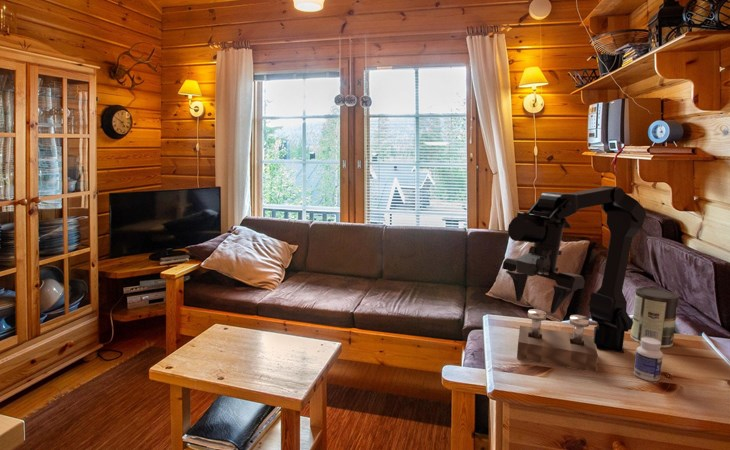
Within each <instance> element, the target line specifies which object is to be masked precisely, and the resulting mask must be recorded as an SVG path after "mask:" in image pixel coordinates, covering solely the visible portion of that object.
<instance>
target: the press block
mask: <svg viewBox="0 0 730 450" xmlns="http://www.w3.org/2000/svg"><path fill="white" fill-rule="evenodd" d="M598 356H599V354H598V349H597V348H596V344H595V343H594V340H593V336H592V335H588V334H583V339H582V343H575V342H573V332H567V331H561V330H560V331H559V330H554V329H546V328H541V327H540V336H539V337H535V336H532V335H531V326H527V325H519V332H518V340H517V352H516V359H517V360H524V361H528V362H533V363H534V362H535V363H540V364H547V365H551V366H556V367H563V368H569V369H572V370H573V369H574V370H580V371H586V372H590V373H597V367H598V359H599V358H598Z"/></svg>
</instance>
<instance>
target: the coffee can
mask: <svg viewBox="0 0 730 450" xmlns="http://www.w3.org/2000/svg"><path fill="white" fill-rule="evenodd" d="M634 295H635V297H634V304H633V305H634V306H633V315H632V321H633V325H632V328H631V330H630V338H631V340H634V341H635V342H637V343H639V344H641V343H640V342H641V338H644V337H647V338H653V339H656V340H658V341H660V342H661V348H663V349H665V348H671V347H673V345H674V339H675V338H674V337H675V329H676V321H677V320H676V319H677V314H678V306H679V299H680V295H679V294H678V293H676V292H673V291H669V290H666V289H662V288H661V289H660V288H655V287H637V288H636V289H635V294H634ZM661 348H660V349H661Z"/></svg>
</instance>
